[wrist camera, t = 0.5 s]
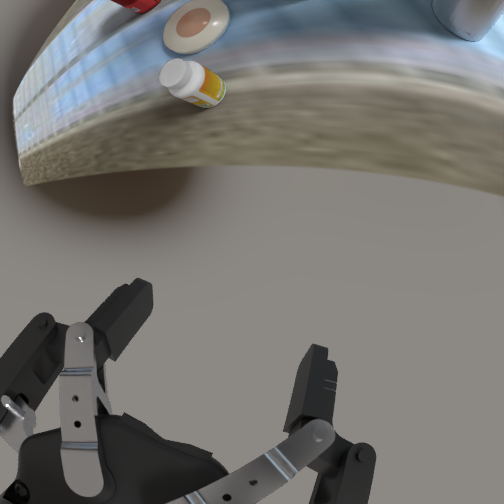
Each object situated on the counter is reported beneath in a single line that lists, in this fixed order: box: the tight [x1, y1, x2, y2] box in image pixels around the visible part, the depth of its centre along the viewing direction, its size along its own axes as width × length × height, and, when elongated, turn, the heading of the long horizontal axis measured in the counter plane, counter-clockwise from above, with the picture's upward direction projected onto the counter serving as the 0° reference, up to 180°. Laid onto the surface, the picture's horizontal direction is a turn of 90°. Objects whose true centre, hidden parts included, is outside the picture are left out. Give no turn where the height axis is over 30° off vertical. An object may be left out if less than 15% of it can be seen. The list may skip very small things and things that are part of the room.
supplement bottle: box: [159, 58, 226, 108], centre depth 31 cm, size 5×5×10 cm
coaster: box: [163, 0, 231, 55], centre depth 32 cm, size 12×12×2 cm
